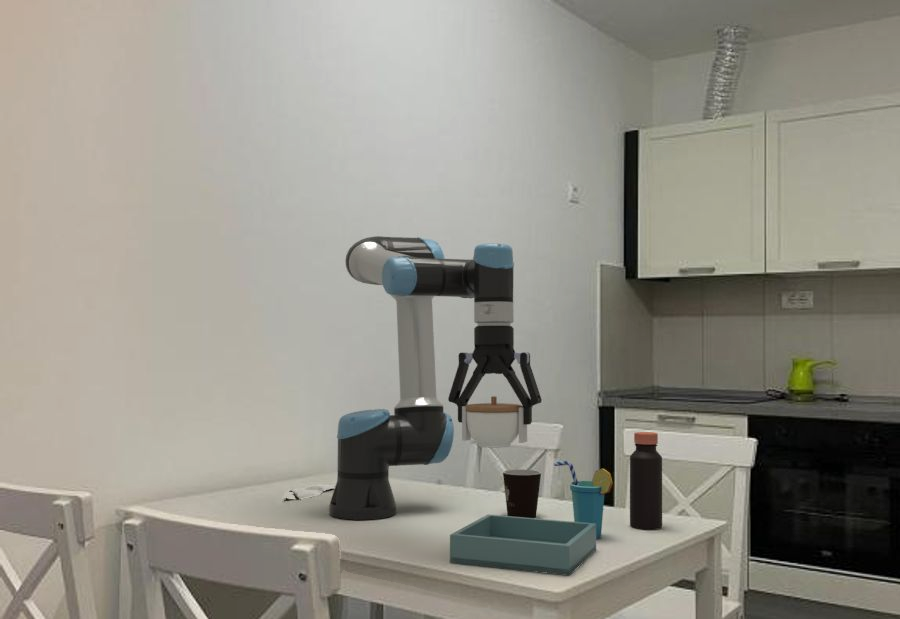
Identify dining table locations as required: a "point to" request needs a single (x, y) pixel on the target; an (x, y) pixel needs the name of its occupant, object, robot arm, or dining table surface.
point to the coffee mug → (522, 492)
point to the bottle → (646, 483)
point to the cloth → (314, 487)
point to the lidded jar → (493, 423)
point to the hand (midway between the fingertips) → (494, 441)
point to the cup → (589, 496)
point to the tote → (524, 544)
